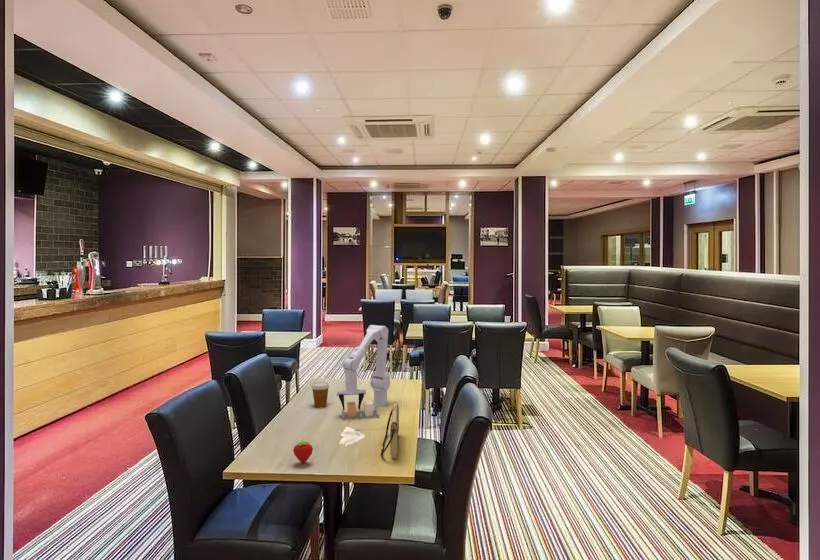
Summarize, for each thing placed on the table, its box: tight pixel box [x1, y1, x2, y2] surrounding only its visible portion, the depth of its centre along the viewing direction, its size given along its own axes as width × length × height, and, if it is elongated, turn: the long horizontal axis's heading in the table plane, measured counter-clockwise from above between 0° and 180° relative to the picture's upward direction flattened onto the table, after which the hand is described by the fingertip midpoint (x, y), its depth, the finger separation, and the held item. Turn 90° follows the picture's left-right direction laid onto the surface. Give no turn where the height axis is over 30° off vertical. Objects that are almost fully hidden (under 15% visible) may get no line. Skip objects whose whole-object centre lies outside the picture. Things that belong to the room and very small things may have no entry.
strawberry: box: [293, 438, 314, 464], centre depth 179 cm, size 6×8×10 cm
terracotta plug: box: [346, 401, 357, 418], centre depth 231 cm, size 6×4×6 cm, turn 9°
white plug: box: [363, 400, 374, 417], centre depth 233 cm, size 6×4×6 cm, turn 10°
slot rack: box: [341, 406, 380, 421], centre depth 232 cm, size 12×18×2 cm, turn 100°
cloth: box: [339, 426, 366, 448], centre depth 207 cm, size 26×14×2 cm, turn 170°
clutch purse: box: [380, 401, 400, 460], centre depth 194 cm, size 30×7×15 cm, turn 0°
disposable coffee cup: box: [311, 381, 330, 409], centre depth 250 cm, size 10×10×12 cm
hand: (351, 409), depth 231 cm, fingers open, 7 cm apart
